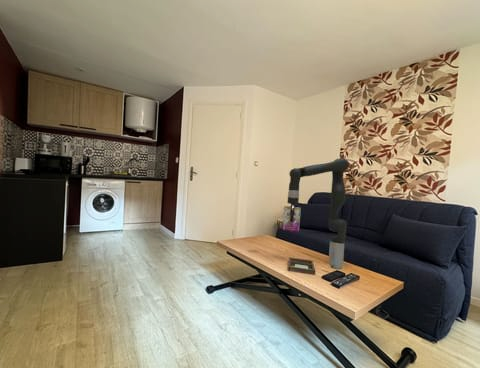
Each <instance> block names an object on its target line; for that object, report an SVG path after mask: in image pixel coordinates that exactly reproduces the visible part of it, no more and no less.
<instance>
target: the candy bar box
mask: <svg viewBox="0 0 480 368" xmlns="http://www.w3.org/2000/svg"><path fill="white" fill-rule="evenodd" d="M295 207H296V206H295ZM301 211H302V207H299V206H298V207H296V208H295V213H294V218H293V222H290V205H289V206H288V205H284V207H283V217H282V227H281V230H285V231H289V232H299V231H300V221H301ZM291 214H293V213H291Z"/></svg>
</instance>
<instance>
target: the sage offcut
mask: <svg viewBox="0 0 480 368" xmlns="http://www.w3.org/2000/svg"><path fill="white" fill-rule="evenodd" d="M294 267H298V268H305V269H309V268H308V266H304V265H298V264H295V266H294Z"/></svg>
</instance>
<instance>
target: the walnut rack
mask: <svg viewBox="0 0 480 368" xmlns="http://www.w3.org/2000/svg"><path fill="white" fill-rule="evenodd" d="M295 264H298V265H304V266H308V269H305V268H298V267H295ZM287 268H288V269H287V272H292V273H293V272H294V273H299V274H304V275H305V274H306V275H310V276H311V275H312V276H315V275H316V269H315V265H314V260H311V259H303V258H295V257H288V267H287Z"/></svg>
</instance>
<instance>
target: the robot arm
mask: <svg viewBox="0 0 480 368" xmlns="http://www.w3.org/2000/svg"><path fill="white" fill-rule="evenodd" d="M349 167H350V162H349V160H348V159H346V158H344V157H340V158H336V159H334V160H333V161H330V162H326V163H324V162H323V163H319V164H317V163H316V164H312V165H307V166H303V167H299V168H297V167H296V168H295V167H294V168H292V169H291V170H289V173H288V174H289V178H290V179H289V184H288V193H287V203H286V204H290V205H289V207H290V222H293V218H294V213H295V208H296V205H298V204H299V199H300V183H301V178H305V177H311V176H316V175H320V174H325V173H330V172H331V173H332V175H331V178H332V180H331V192H330V193H331V194H330V211H329V218H328V230H329V231H332V232H334V233H337V234H336V235H331V236H330V239H329V252H328V253H329V254H328V265H329V266H330V268H332V269H337V270H341V269H342V270H343V268H344V258H345V257H344V256H345V254H344V252H345V243H346V242H345V241H346V236H347V228H348V224H347V221H346V220H345V219H341V218H338V213H339V210H340V209H341V208H342V206H343V205H344V203H345V202H346V186H345V182H344V172H345V171H347V170H348V169H349ZM291 213H293V214H291Z"/></svg>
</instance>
